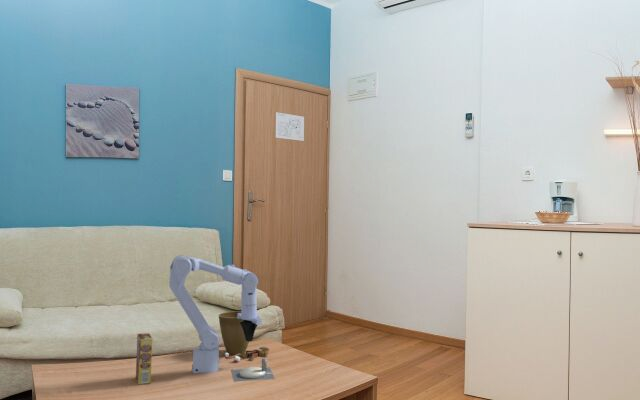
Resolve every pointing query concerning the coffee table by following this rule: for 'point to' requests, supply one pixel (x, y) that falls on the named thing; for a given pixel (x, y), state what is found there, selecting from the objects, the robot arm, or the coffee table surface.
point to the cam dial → (254, 371)
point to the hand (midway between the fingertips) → (249, 340)
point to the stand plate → (238, 378)
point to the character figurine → (250, 354)
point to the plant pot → (232, 333)
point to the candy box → (144, 358)
